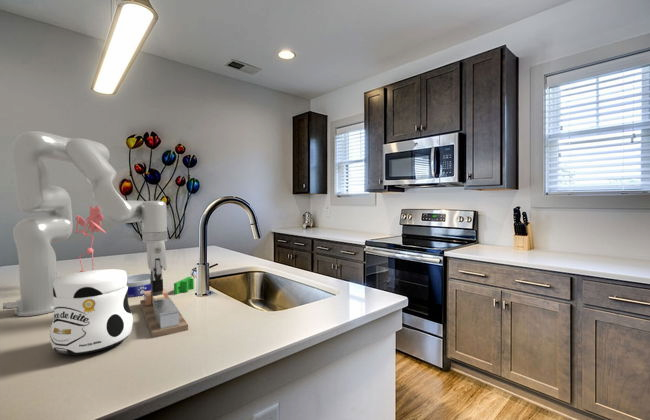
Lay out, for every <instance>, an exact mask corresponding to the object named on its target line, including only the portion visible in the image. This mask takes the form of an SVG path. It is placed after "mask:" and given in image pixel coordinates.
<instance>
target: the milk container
mask: <svg viewBox="0 0 650 420" xmlns="http://www.w3.org/2000/svg"><path fill="white" fill-rule="evenodd" d="M84 271H85V272H80V271H79V272H74V273H73V272H72V273H70V274H65V275H62V276H59V277H58V276H57V278H56V279H55V280H54V283H53V295H54V296H53V306H54V311H53V317H52V323H51V325H50V330H49V339H50V340H49V341H50V345H51V347H52V349H53V350H54V351H55V352H56V353H59V354H61V355H67V356H68V355H69V356H76V355H77V356H78V355H86V354H91V353H95V352H100V351H103V350H106V349H110V348H112V347H114V346H116V345H118V344H120V343H122V342H123V341H124V340H126V339H127V338H128V337H129V335H130V334H131V332H132V330H133V323H134V320H133V318H134V317H133V314H132V310H131V308H130V304H129V298H128V286H127V276H128V274H127V271H125V270H124V269H114V268H110V269H108V268H107V269H94V270H93V269H92V270H84Z"/></svg>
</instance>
